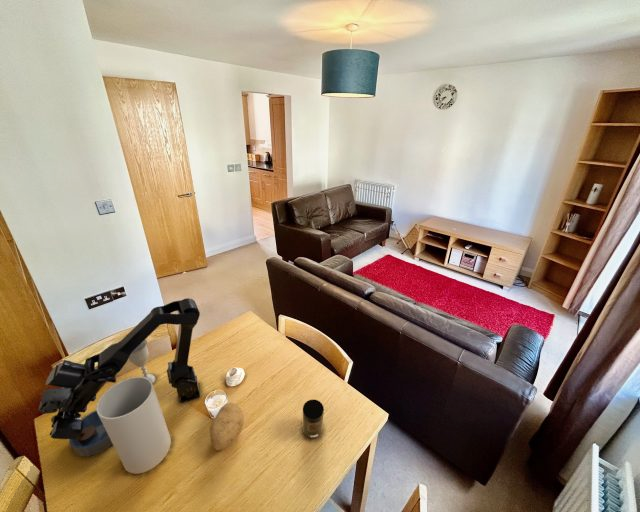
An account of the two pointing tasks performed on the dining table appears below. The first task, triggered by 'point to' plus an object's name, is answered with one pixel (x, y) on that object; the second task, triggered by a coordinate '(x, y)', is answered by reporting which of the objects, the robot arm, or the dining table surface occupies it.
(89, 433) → the ladle
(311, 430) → the supplement container
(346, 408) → the dining table surface
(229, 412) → the potato
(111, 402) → the cylinder vase
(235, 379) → the whipped cream
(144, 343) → the chalice
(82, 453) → the bowl
